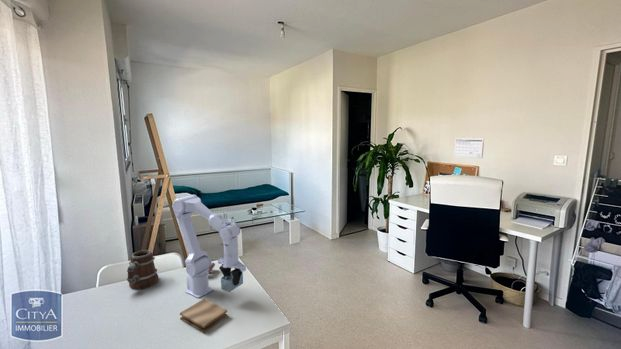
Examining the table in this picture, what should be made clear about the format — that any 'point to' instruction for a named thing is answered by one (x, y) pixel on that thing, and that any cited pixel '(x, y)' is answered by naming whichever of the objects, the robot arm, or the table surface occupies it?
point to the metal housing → (230, 282)
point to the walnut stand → (203, 315)
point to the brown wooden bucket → (142, 270)
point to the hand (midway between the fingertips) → (232, 282)
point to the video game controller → (211, 267)
